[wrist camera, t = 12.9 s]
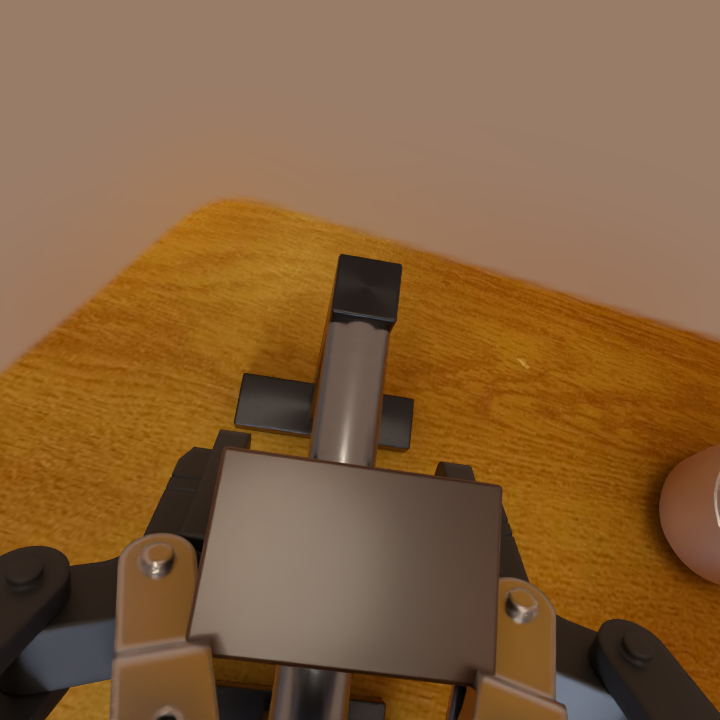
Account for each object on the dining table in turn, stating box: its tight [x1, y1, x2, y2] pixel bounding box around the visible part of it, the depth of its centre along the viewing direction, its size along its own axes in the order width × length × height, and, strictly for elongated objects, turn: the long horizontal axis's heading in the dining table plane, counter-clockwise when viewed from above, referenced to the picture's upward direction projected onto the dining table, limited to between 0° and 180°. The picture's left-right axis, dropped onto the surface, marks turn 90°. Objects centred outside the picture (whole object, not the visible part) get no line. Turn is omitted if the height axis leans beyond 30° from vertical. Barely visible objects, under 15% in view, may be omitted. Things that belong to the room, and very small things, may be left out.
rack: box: [215, 254, 414, 720], centre depth 18 cm, size 8×15×14 cm, turn 173°
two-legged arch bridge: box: [185, 446, 502, 687], centre depth 14 cm, size 5×3×11 cm, turn 83°
